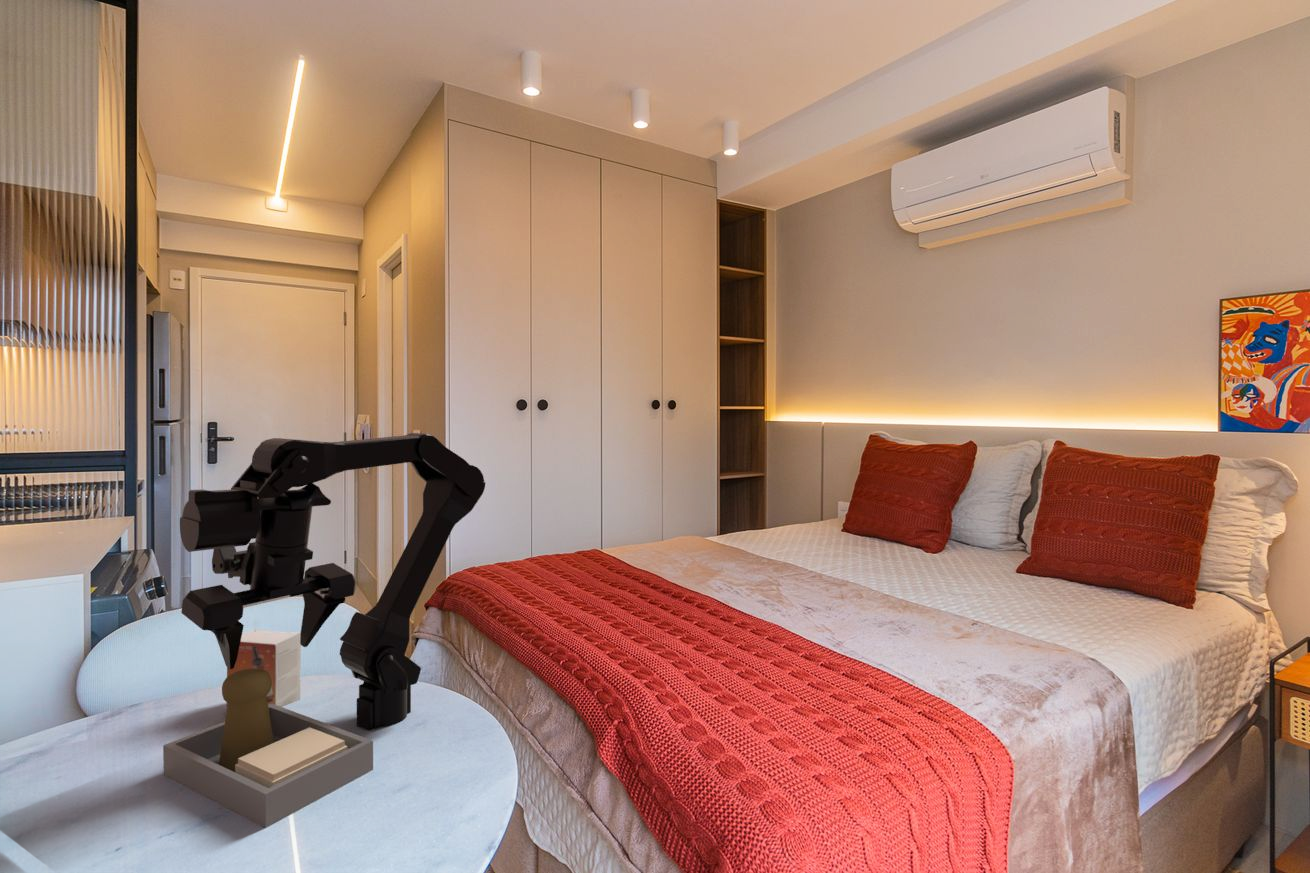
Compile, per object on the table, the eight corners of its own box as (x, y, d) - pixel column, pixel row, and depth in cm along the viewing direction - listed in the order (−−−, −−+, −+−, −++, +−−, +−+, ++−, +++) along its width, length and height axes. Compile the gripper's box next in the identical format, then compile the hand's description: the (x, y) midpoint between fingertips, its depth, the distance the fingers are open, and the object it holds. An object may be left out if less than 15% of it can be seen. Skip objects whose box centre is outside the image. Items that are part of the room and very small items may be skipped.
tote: (272, 736, 90) (272, 703, 90) (373, 777, 80) (373, 740, 80) (163, 782, 79) (163, 745, 78) (265, 837, 69) (265, 794, 69)
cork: (249, 776, 78) (249, 684, 78) (205, 770, 80) (204, 679, 79) (287, 751, 84) (286, 664, 84) (245, 745, 85) (245, 660, 85)
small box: (225, 712, 97) (225, 640, 97) (254, 696, 103) (254, 628, 102) (275, 717, 96) (275, 644, 95) (301, 700, 101) (301, 631, 101)
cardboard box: (310, 757, 83) (310, 726, 83) (347, 772, 80) (347, 740, 79) (235, 793, 75) (235, 758, 75) (273, 811, 72) (272, 775, 72)
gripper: (317, 511, 95) (304, 614, 97) (165, 529, 79) (154, 652, 81) (365, 536, 89) (350, 644, 91) (212, 561, 73) (198, 692, 76)
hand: (268, 656), depth 85 cm, fingers open, 9 cm apart
